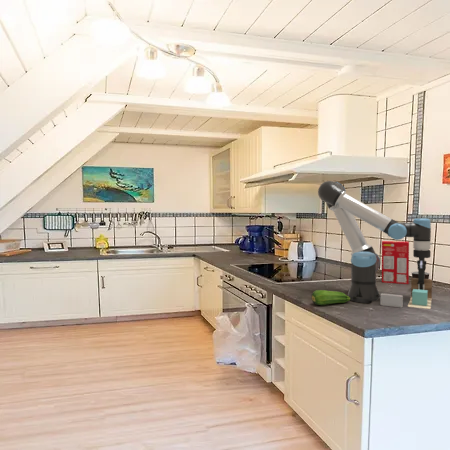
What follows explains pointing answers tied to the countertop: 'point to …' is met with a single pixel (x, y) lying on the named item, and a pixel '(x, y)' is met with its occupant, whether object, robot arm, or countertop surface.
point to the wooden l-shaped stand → (426, 287)
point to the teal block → (419, 297)
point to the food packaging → (395, 262)
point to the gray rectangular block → (391, 300)
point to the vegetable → (328, 297)
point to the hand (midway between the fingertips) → (421, 295)
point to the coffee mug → (415, 275)
